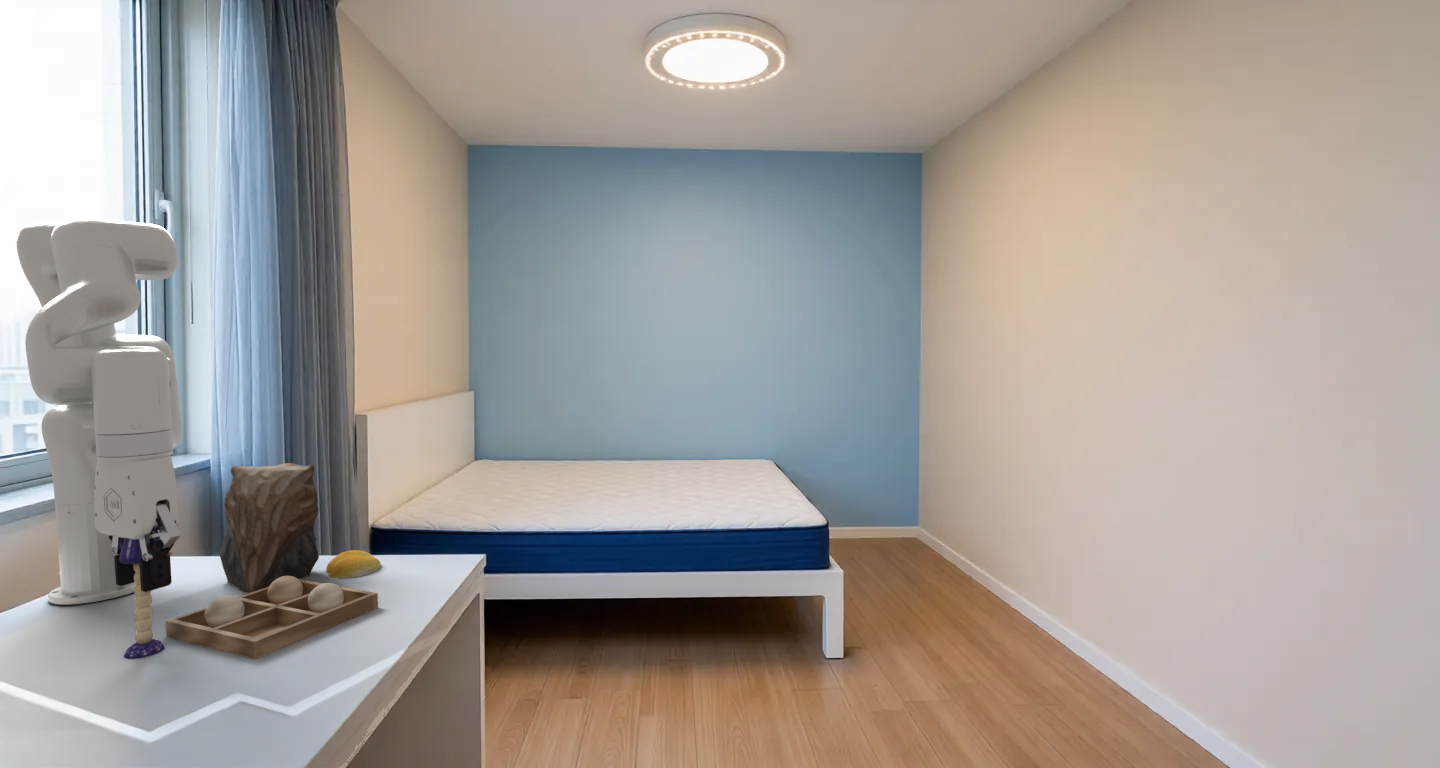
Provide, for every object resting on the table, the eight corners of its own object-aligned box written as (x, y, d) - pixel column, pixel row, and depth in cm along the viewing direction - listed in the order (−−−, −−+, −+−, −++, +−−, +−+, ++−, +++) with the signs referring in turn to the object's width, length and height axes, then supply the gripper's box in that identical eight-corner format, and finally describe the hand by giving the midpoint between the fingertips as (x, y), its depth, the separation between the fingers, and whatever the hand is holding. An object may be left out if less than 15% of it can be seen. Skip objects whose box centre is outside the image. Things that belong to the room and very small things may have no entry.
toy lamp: (142, 646, 94) (135, 523, 93) (179, 645, 94) (172, 523, 93) (114, 663, 89) (106, 534, 88) (154, 662, 89) (146, 533, 88)
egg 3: (301, 618, 102) (299, 586, 102) (329, 606, 106) (328, 576, 106) (323, 622, 100) (321, 590, 100) (351, 611, 104) (350, 580, 104)
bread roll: (335, 587, 118) (333, 563, 118) (323, 574, 125) (321, 552, 124) (387, 575, 123) (386, 553, 123) (373, 563, 130) (372, 542, 130)
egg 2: (261, 609, 105) (259, 579, 105) (290, 599, 110) (288, 570, 109) (281, 614, 104) (280, 583, 103) (310, 603, 108) (309, 573, 107)
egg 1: (197, 632, 97) (195, 599, 97) (232, 620, 101) (230, 588, 101) (219, 637, 95) (217, 604, 95) (253, 624, 100) (251, 592, 99)
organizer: (167, 642, 96) (165, 620, 96) (294, 596, 113) (293, 578, 113) (256, 665, 89) (254, 641, 89) (378, 612, 106) (377, 593, 105)
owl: (218, 584, 119) (211, 467, 118) (299, 565, 129) (293, 457, 128) (247, 600, 112) (240, 475, 110) (331, 578, 122) (325, 463, 120)
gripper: (61, 445, 90) (71, 585, 91) (141, 454, 83) (150, 605, 84) (130, 437, 96) (138, 568, 98) (208, 445, 90) (216, 584, 91)
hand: (143, 583), depth 91 cm, fingers closed on toy lamp, 4 cm apart
